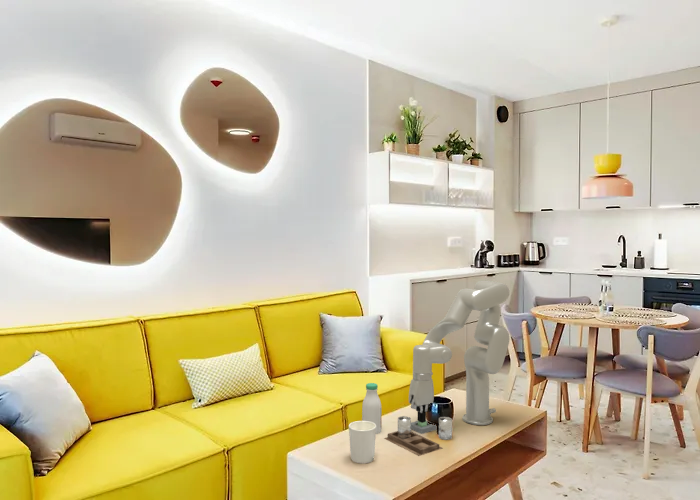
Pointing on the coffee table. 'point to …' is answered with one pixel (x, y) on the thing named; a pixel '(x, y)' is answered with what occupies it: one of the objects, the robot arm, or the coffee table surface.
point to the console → (423, 429)
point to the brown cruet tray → (414, 443)
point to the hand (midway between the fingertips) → (421, 421)
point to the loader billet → (404, 427)
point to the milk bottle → (372, 407)
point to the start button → (422, 424)
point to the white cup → (362, 441)
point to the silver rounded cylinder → (445, 428)
